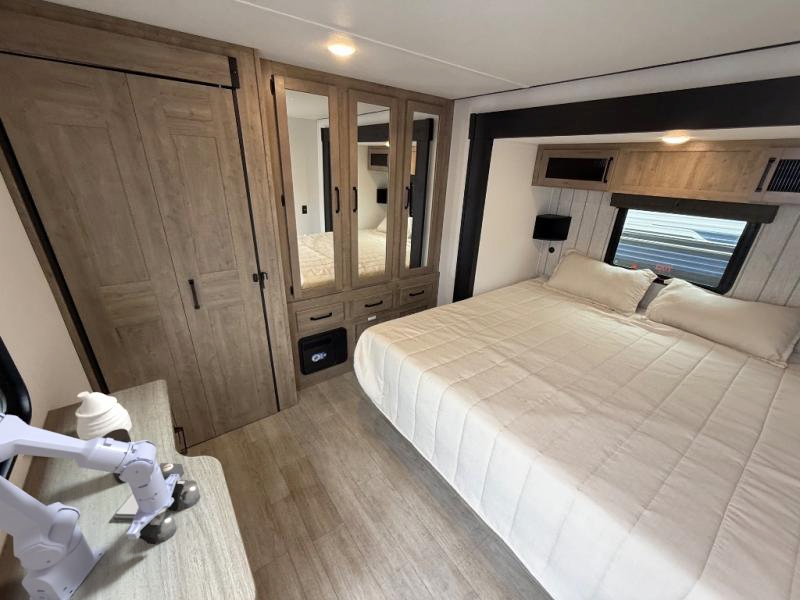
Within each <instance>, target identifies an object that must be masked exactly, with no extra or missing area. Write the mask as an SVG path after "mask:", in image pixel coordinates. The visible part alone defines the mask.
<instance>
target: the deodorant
mask: <svg viewBox="0 0 800 600" xmlns="http://www.w3.org/2000/svg"><path fill="white" fill-rule="evenodd" d="M102 438H112V439H114V440H115V441H120V442H125V443H128V442H132V440H131V436H130V434H129V431H127V430H126V429H117V430H113V431H111V432H109V433H107V434H106V435H104V436H103V437H102ZM112 476H113V477H114V480H115V482H116V483H117V484H125V483H127V482H124V481H122V480H120V478H119V476H120V474H119V473H112Z"/></svg>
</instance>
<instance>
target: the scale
mask: <svg viewBox="0 0 800 600" xmlns="http://www.w3.org/2000/svg"><path fill="white" fill-rule="evenodd" d="M158 465H159V467H160V469H161V472H162V475H163V478H164V480H166V479H167V478H168V477H169V476H170V475H171V474H179V476H180V480H179V482H177V484H184V483H185V482H187V481H189V480H188V479H182V477H184V475H185V471H184V467H183V464H182V463H176V462H175V463H173V462H171V463H170V462H168V463H167V462H161V463H160V464H158ZM137 510H138V504H137V502H136V500H135V497H134V495H133V492H132V493H131V495H130V496H128V498H127V500H125V502H124V503H123V504H122V506H120V508H119V509H118V510H117V511H116V513H115V514H114V515H113V516H112V519H113V521H123V522H124V521H127V522H128V521H130V522H133V520H134V517H135V515H136V512H137ZM164 511H169V510H168V508H164V509H163V510H162V511H161V512H160V513H162V512H164ZM160 513H158V514H160ZM158 514H157V515H158ZM157 515H156V516H157ZM156 516H155V517H156ZM155 517H154V518H155ZM154 518H153V519H154ZM153 519H152V520H153ZM152 520H151V521H150V523H151V522H152Z"/></svg>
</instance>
